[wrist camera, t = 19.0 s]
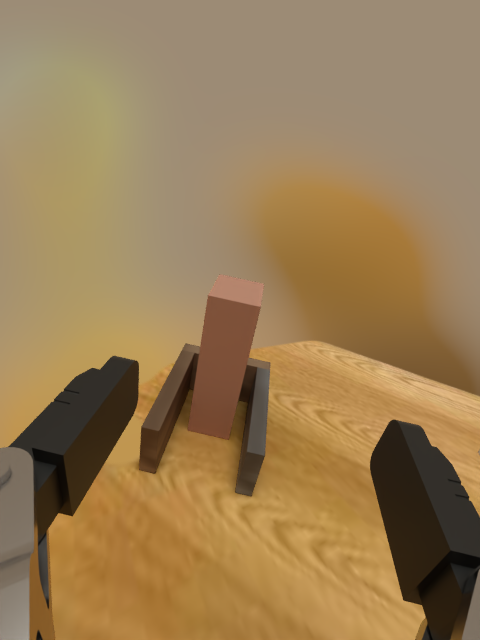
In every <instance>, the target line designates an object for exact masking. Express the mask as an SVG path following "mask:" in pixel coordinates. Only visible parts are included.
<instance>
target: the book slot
mask: <svg viewBox="0 0 480 640" xmlns="http://www.w3.org/2000/svg"><path fill="white" fill-rule="evenodd" d="M199 352H200V347H199V346H194V345H190V344H185V346H184V347H183V350H182V351H181V353H180V355H179V357H178V359H177V361H176V363H175V364H174V366H173V368H172V370H171V372H170V374H169V376H168V378H167V380H166V382H165V383H164V385H163V387H162V389H161V391H160V393H159V395H158V397H157V399H156V400H155V402H154V404H153V406H152V408H151V410H150V412H149V414H148V416H147V418H146V419H145V421H144V423H143V425H142V428H141V445H140V463H139V470H142V471H147V472H151V473H155V472H156V470H157V467H158V465H159V463H160V460H161V458H162V455H163V453H164V450H165V448H166V445H167V443H168V440H169V438H170V435H171V433H172V431H173V428H174V426H175V423H176V421H177V418H178V416H179V413H180V411H181V408H182V406H183V403H184V401H185V399H186V396H187V394H188V391H189V389H192V390H194V385H195V379H196V372H197V365H198V359H199ZM269 378H270V362H265V361H261V360H256V359H252V358H248V362H247V366H246V370H245V374H244V378H243V382H242V387H241V391H240V395H239V399H238V400H240V401H244V402H248V407H247V414H246V421H245V428H244V435H243V442H242V449H241V456H240V463H239V470H238V477H237V484H236V491H235V492H236V493H240V494H244V495H248V496H252V493H253V490H254V487H255V484H256V481H257V478H258V475H259V472H260V469H261V466H262V463H263V460H264V457H265V444H266V427H267V411H268V394H269Z"/></svg>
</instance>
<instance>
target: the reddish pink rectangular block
mask: <svg viewBox="0 0 480 640" xmlns="http://www.w3.org/2000/svg"><path fill="white" fill-rule="evenodd" d="M263 288H264V284H262V283H258V282H253V281H248V280H244V279H239V278H235V277H230V276H226V275H221V274H220V275H219V276H218V278H217V280H216V282H215V284H214V285H213V288H212V289H211V291H210V293H209V295H208V299H207V307H206V313H205V319H204V326H203V332H202V339H201V346H200V352H199V359H198V365H197V372H196V379H195V385H194V392H193V398H192V405H191V411H190V418H189V425H188V430H189V431H193V432H197V433H202V434H206V435H210V436H215V437H219V438H223V439H228V440H229V436H230V432H231V428H232V424H233V420H234V416H235V411H236V407H237V403H238V399H239V395H240V391H241V387H242V382H243V378H244V374H245V370H246V366H247V362H248V358H249V354H250V349H251V345H252V341H253V337H254V333H255V329H256V325H257V321H258V316H259V312H260V308H261V302H262V295H263Z"/></svg>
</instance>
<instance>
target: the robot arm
mask: <svg viewBox="0 0 480 640" xmlns="http://www.w3.org/2000/svg"><path fill="white" fill-rule="evenodd" d="M138 383H139V364H138V362H137V361H135V360H130V359H126V358H122V357H117V356H113V357H111V358H110V359H109V360H108V361H107V362H106V364H105V365H104V366H103V367H102V368H101V369H100V370H99V369H95V368H91V369H89V370H87V371H86V372H84V373H82V374H80V375H78V376H76V377H75V378H74V379H73V380H72V381H71V382H70V383H69V384H68V385H67V387H66V388H65V389H64V391H63V392H61V393H60V394H59V395H58V396H57V397H56V398H55V399H54V402H51V403H50V405H48V406H47V407H46V409H45V410H44V411H43V412H42V413H41V414H40V415H39V416H38V417H37V418H36V419H35V420H34V421H33V422H32V423H31V424H30V425H29V426H28V427H27V428H26V429H25V430H24V431H23V433H21V434H20V436H19V437H18V438H17V439H16V440H15V441H14V442H13V443H12V444H11V445H10V446H9V447H6V448H0V640H55V632H54V625H53V615H52V597H51V575H50V553H49V531H48V528H49V527H50V525H51V524H52V522H53V520H54V519H55V517H56V516H57V514H58V513H61V514H65V515H69V516H73V515H74V513H75V511H76V510H77V508H78V506H79V505H80V503H81V501H82V500H83V498H84V496H85V495H86V493H87V491H88V490H89V488H90V486H91V485H92V483H93V481H94V480H95V478H96V476H97V475H98V473H99V471H100V470H101V468H102V466H103V465H104V463H105V461H106V460H107V458H108V456H109V455H110V453H111V451H112V450H113V448H114V446H115V445H116V443H117V441H118V439H119V438H120V436H121V435H122V433H123V431H124V430H125V428H126V426H127V425H128V423H129V421H130V420H131V418H132V416H133V414H134V412H135V409H136V406H137V402H138ZM370 470H371V475H372V479H373V483H374V487H375V491H376V495H377V499H378V503H379V507H380V511H381V515H382V518H383V522H384V526H385V530H386V534H387V538H388V542H389V546H390V550H391V554H392V558H393V561H394V565H395V569H396V573H397V577H398V581H399V585H400V589H401V593H402V597H403V600H404V601H408V602H412V603H416V604H420V605H422V606H423V609H424V613H425V616H426V618H425V619H424V620H423V621H422V623H421V625H420V627H419V630H418V633H417V636H416V639H415V640H480V517H479V515H478V513H477V511H476V509H475V508H474V506H473V504H472V502H471V501H469V496H468V494H467V492H466V490H465V488H464V487H463V486H462V485H461V481H460V479H459V477H458V475H457V473H456V471H455V469H454V467H453V466H452V464H451V463H450V462H449V460H448V459H447V458H446V457H445V456H444V455H443V454H442V453H441V452H440V450H439V449H438V448H437V447H433V446H431V444H430V442H429V440H428V438H427V436H426V434H425V432H424V430H423V428H422V427H421V426H419V425H415V424H411V423H406V422H402V421H398V420H392V421H390V422H389V424H388V425H387V427H386V429H385V431H384V433H383V434H382V436H381V438H380V440H379V442H378V443H377V445H376V447H375V449H374V451H373V453H372V456H371V461H370Z"/></svg>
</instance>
